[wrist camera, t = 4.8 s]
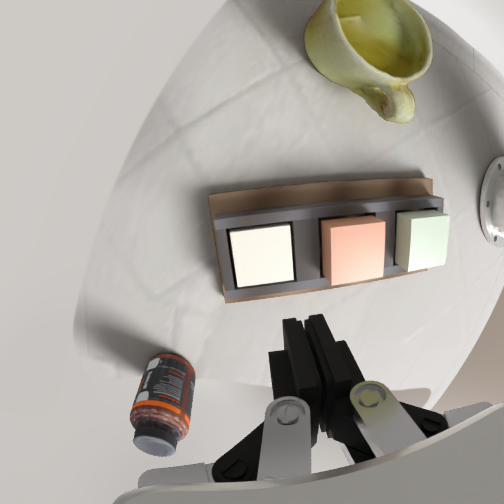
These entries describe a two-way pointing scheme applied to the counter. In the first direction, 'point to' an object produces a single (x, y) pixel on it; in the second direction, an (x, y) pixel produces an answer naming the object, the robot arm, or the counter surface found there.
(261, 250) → the key cream
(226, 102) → the counter surface
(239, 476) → the robot arm
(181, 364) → the supplement bottle
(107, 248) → the counter surface
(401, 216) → the key sage
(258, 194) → the key panel
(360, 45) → the mug
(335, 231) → the key terracotta
